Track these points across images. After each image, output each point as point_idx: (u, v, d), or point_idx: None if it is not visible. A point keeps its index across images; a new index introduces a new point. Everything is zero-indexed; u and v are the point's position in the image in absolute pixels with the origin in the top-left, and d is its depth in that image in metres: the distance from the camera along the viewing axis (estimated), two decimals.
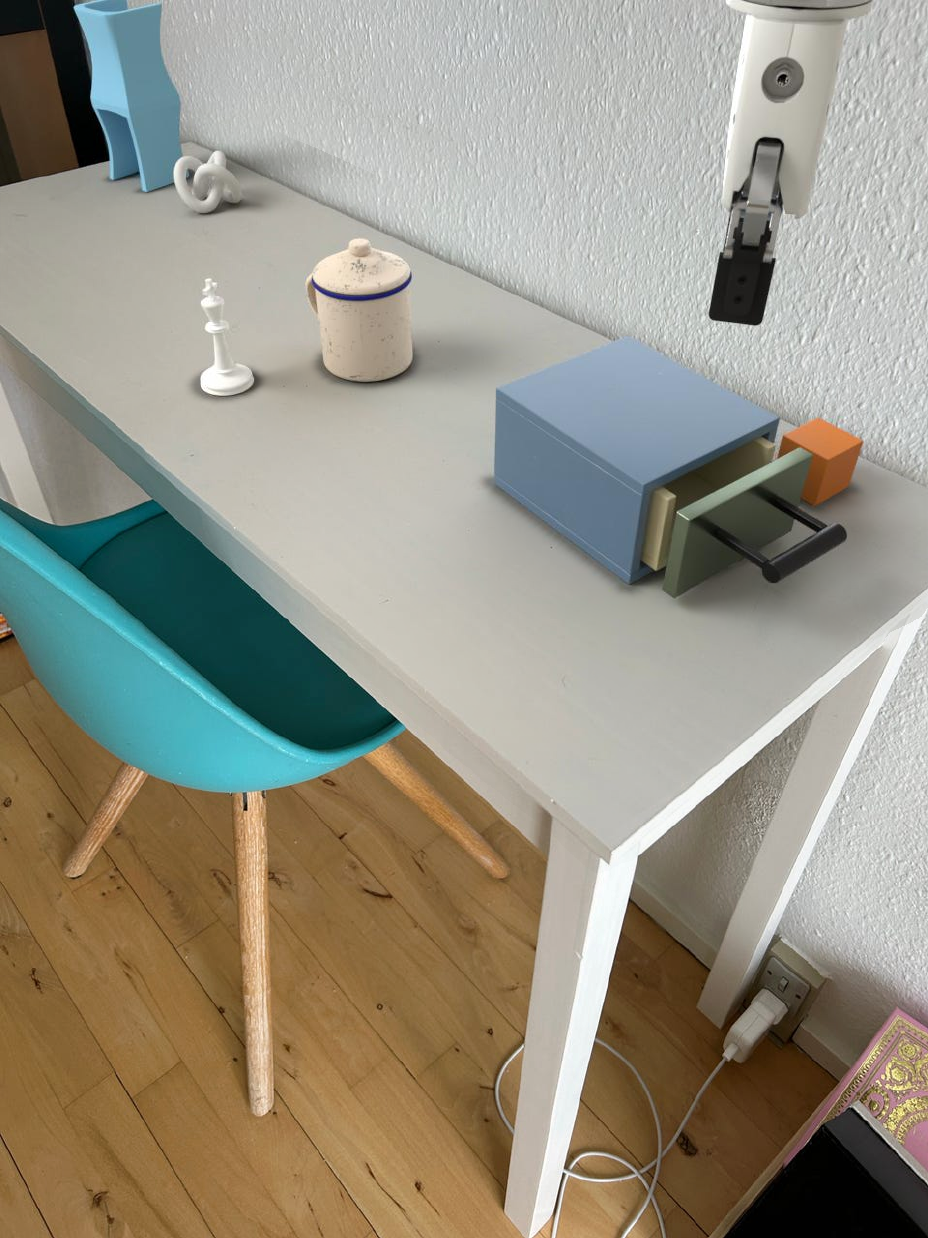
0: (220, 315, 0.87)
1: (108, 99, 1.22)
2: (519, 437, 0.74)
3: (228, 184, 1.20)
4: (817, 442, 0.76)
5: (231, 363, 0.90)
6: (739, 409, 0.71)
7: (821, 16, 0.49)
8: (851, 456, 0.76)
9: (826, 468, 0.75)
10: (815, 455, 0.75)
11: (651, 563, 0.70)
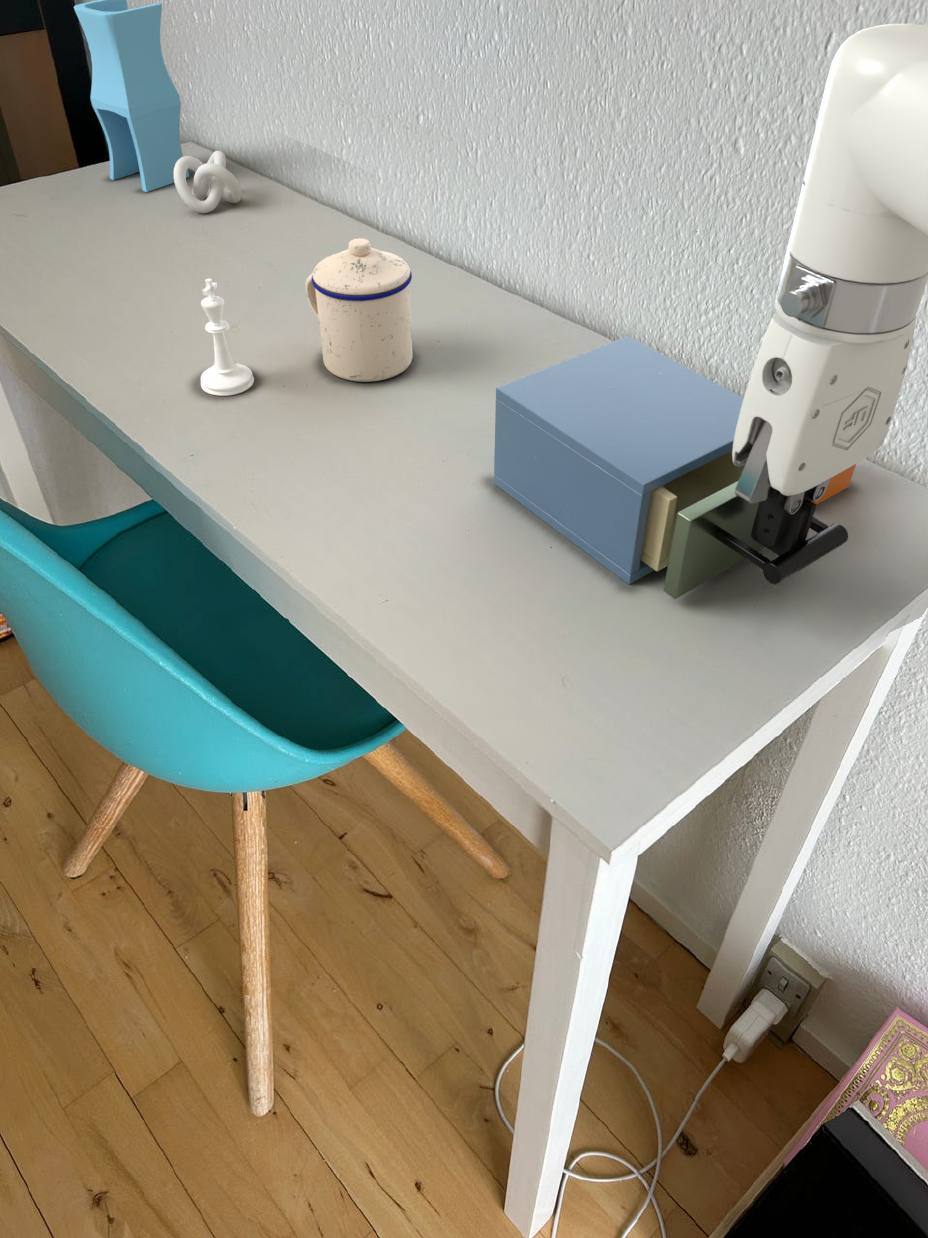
0: (220, 315, 0.87)
1: (108, 99, 1.22)
2: (519, 437, 0.74)
3: (228, 184, 1.20)
4: None
5: (231, 363, 0.90)
6: (739, 409, 0.71)
7: (821, 334, 0.53)
8: None
9: None
10: None
11: (652, 564, 0.70)
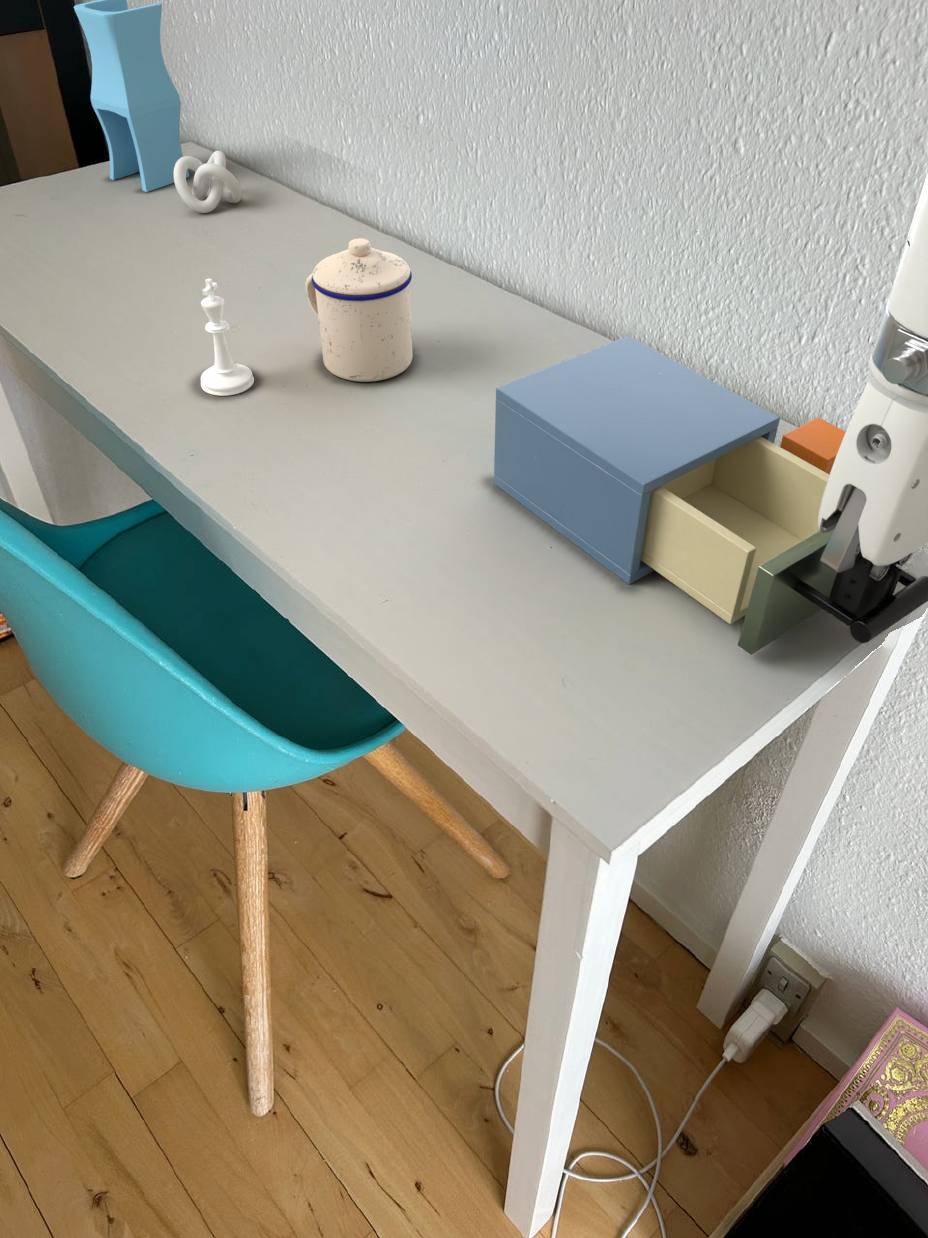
0: (220, 315, 0.87)
1: (108, 99, 1.22)
2: (519, 437, 0.74)
3: (228, 184, 1.20)
4: (817, 442, 0.76)
5: (231, 363, 0.90)
6: (739, 409, 0.71)
7: (925, 401, 0.49)
8: None
9: (826, 468, 0.75)
10: (815, 455, 0.75)
11: (725, 616, 0.66)
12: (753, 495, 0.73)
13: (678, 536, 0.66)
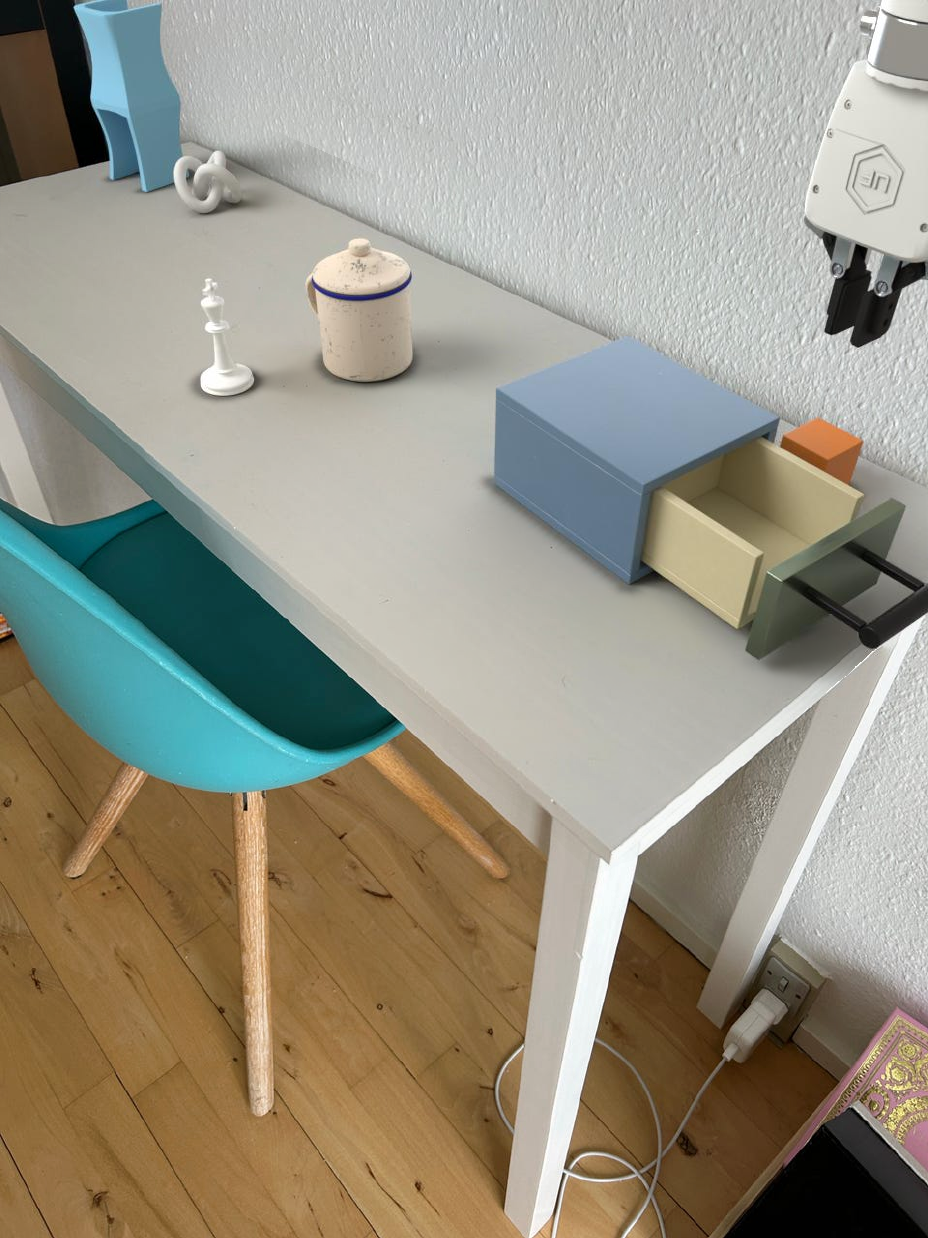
0: (220, 315, 0.87)
1: (108, 99, 1.22)
2: (519, 437, 0.74)
3: (228, 184, 1.20)
4: (817, 442, 0.76)
5: (231, 363, 0.90)
6: (739, 409, 0.71)
7: None
8: (851, 456, 0.76)
9: (826, 468, 0.75)
10: (815, 455, 0.75)
11: (732, 621, 0.65)
12: (760, 499, 0.72)
13: (685, 541, 0.66)
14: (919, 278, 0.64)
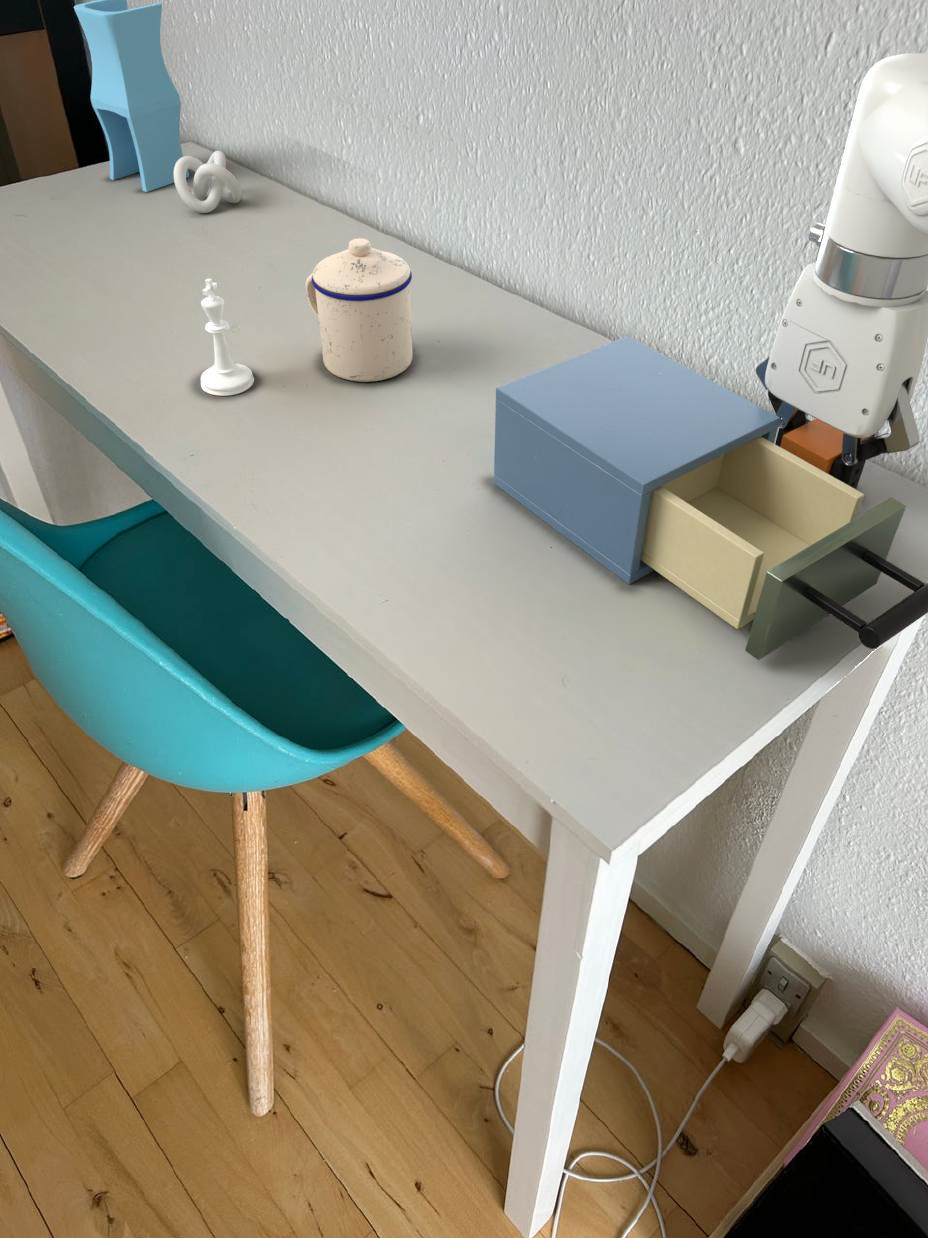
0: (220, 315, 0.87)
1: (108, 99, 1.22)
2: (519, 437, 0.74)
3: (228, 184, 1.20)
4: (817, 442, 0.76)
5: (231, 363, 0.90)
6: (739, 409, 0.71)
7: None
8: None
9: (826, 468, 0.75)
10: (815, 455, 0.75)
11: (732, 621, 0.65)
12: (760, 499, 0.72)
13: (685, 541, 0.66)
14: None
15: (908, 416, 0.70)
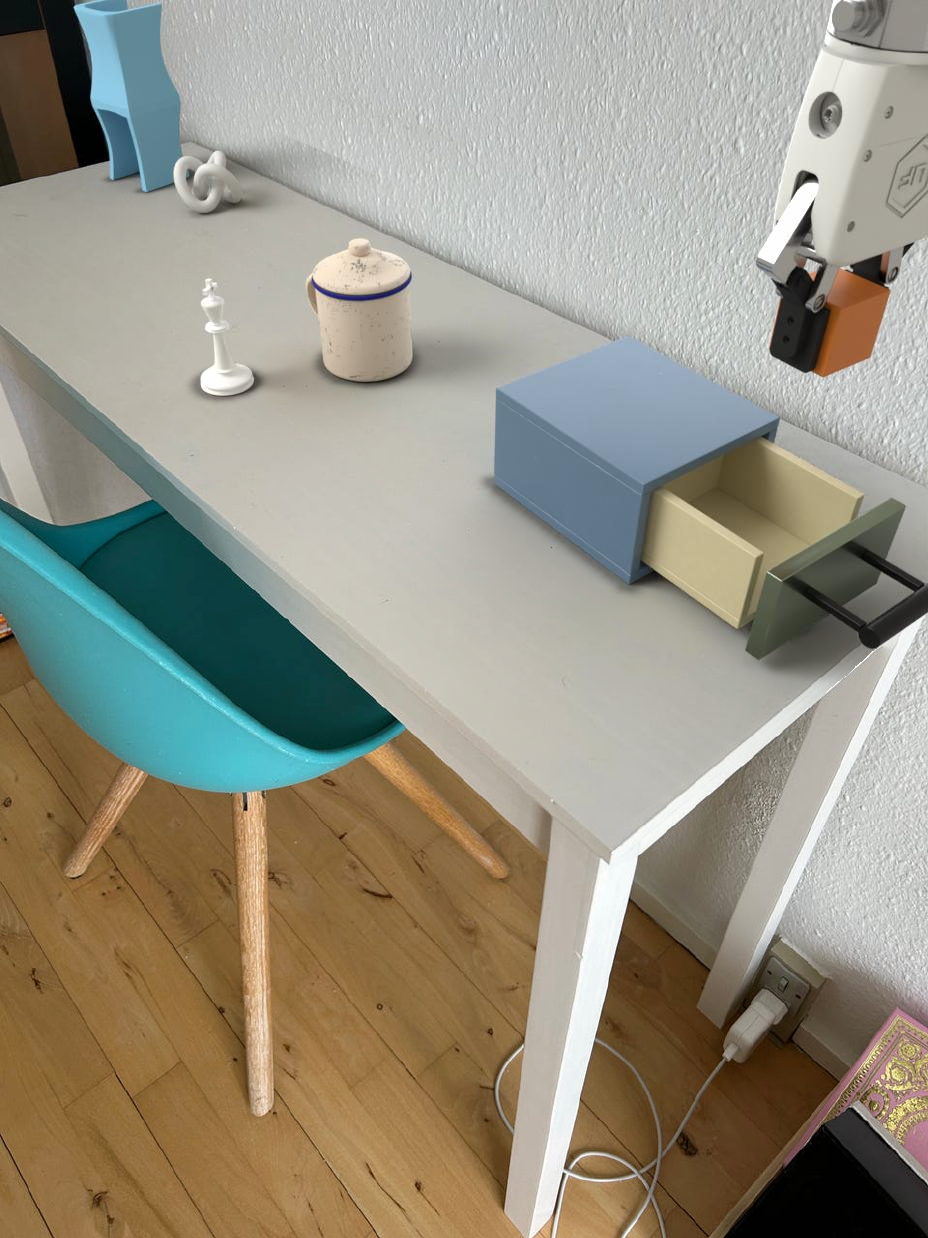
0: (220, 315, 0.87)
1: (108, 99, 1.22)
2: (519, 437, 0.74)
3: (228, 184, 1.20)
4: (852, 290, 0.57)
5: (231, 363, 0.90)
6: (739, 409, 0.71)
7: (877, 56, 0.47)
8: None
9: (886, 302, 0.58)
10: (877, 298, 0.57)
11: (732, 621, 0.65)
12: (760, 499, 0.72)
13: (685, 541, 0.66)
14: None
15: None
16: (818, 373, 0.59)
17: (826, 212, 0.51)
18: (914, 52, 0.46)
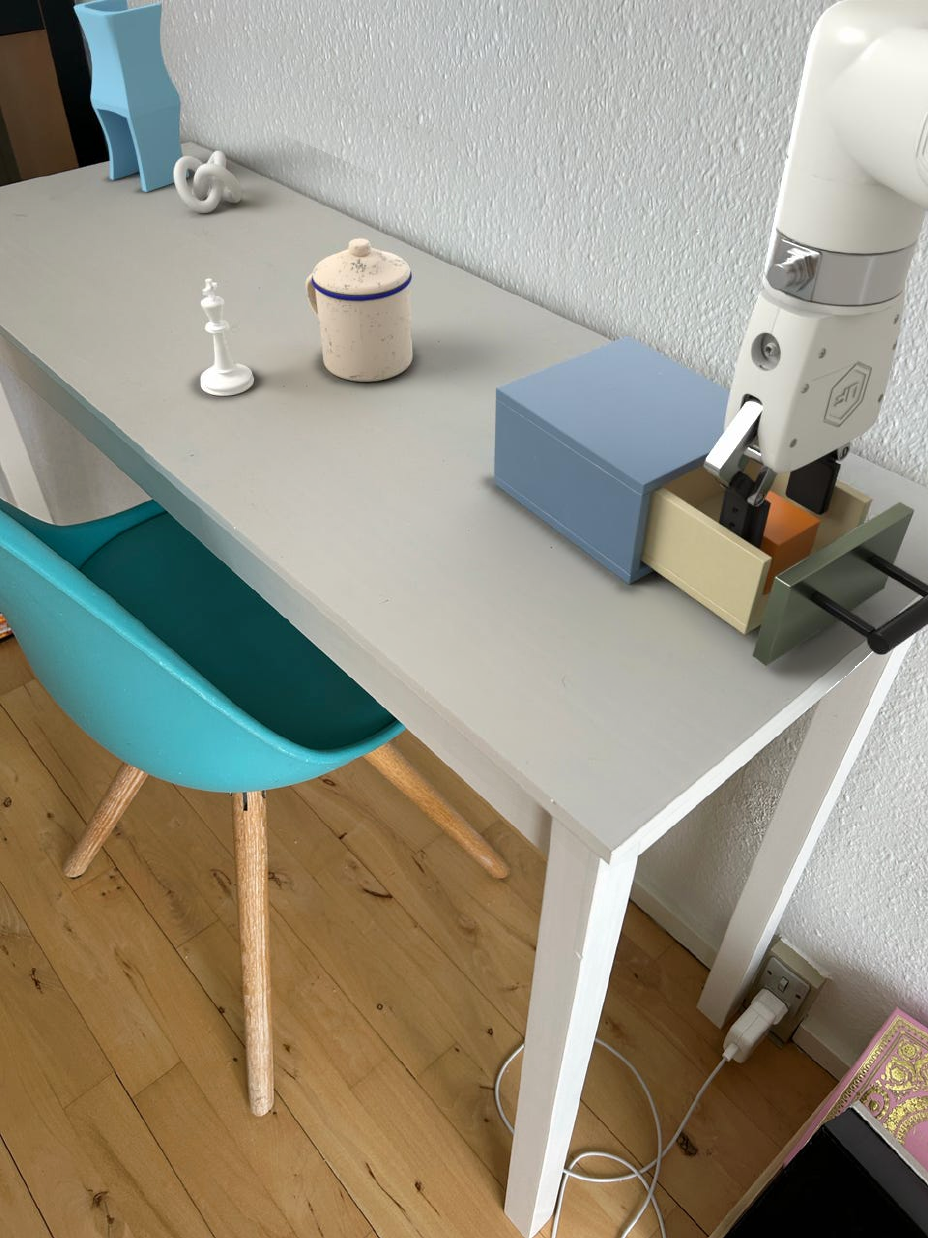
0: (220, 315, 0.87)
1: (108, 99, 1.22)
2: (519, 437, 0.74)
3: (228, 184, 1.20)
4: (787, 522, 0.65)
5: (231, 363, 0.90)
6: None
7: (809, 307, 0.52)
8: None
9: (817, 529, 0.66)
10: (809, 529, 0.65)
11: (739, 626, 0.65)
12: None
13: (692, 545, 0.65)
14: None
15: None
16: None
17: (770, 432, 0.56)
18: (841, 305, 0.52)
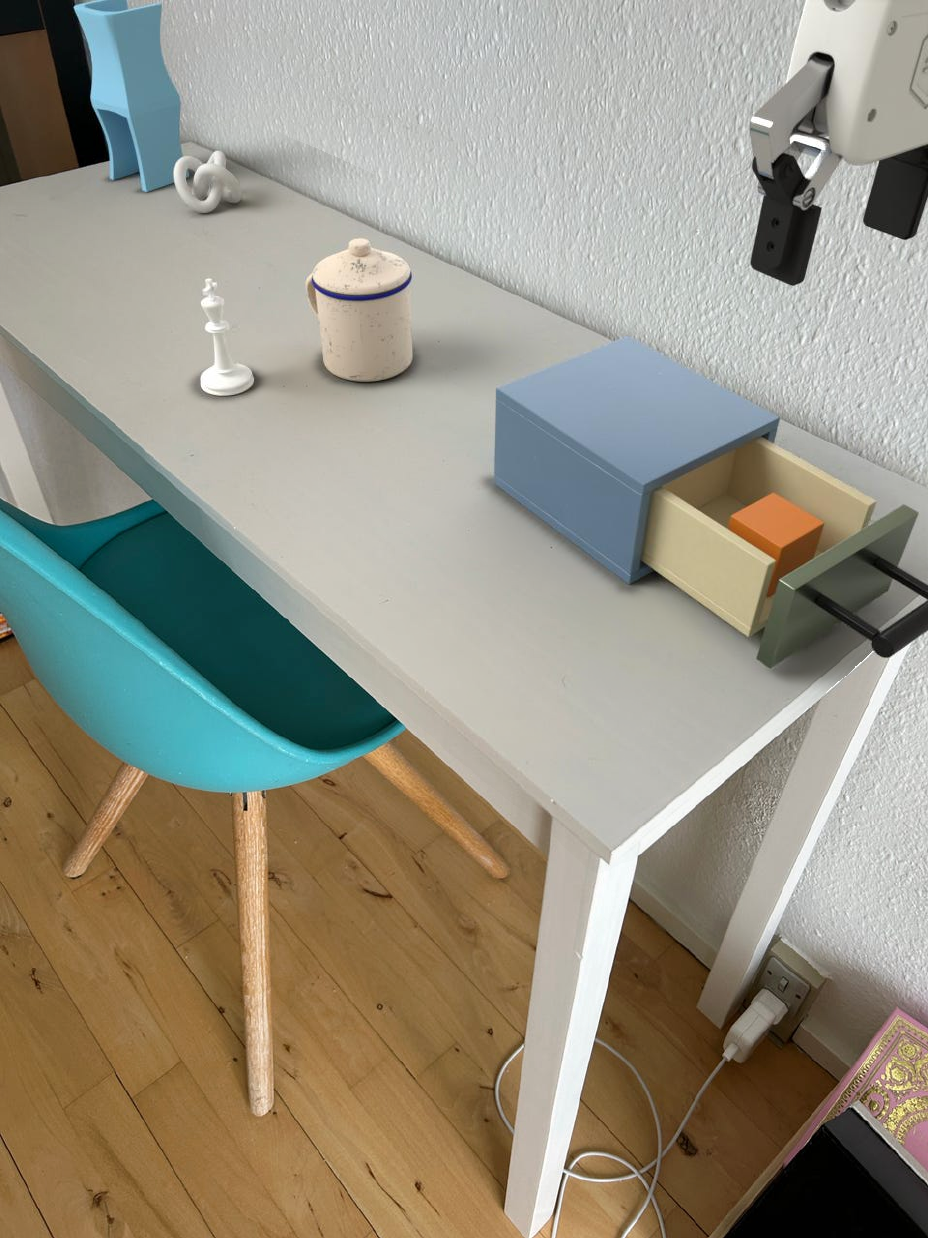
0: (220, 315, 0.87)
1: (108, 99, 1.22)
2: (519, 437, 0.74)
3: (228, 184, 1.20)
4: (791, 524, 0.65)
5: (231, 363, 0.90)
6: (739, 409, 0.71)
7: None
8: None
9: (820, 532, 0.66)
10: (813, 531, 0.65)
11: (743, 629, 0.65)
12: None
13: (695, 548, 0.65)
14: None
15: None
16: None
17: (844, 99, 0.45)
18: None
